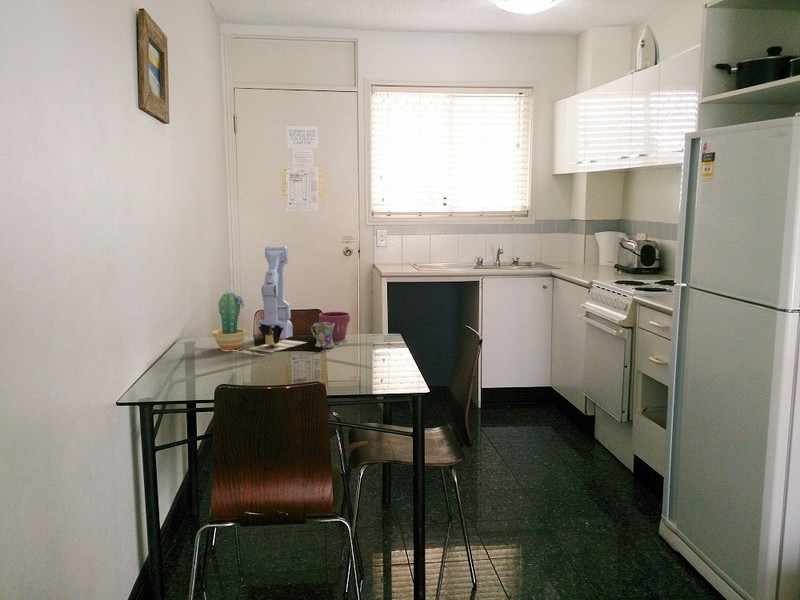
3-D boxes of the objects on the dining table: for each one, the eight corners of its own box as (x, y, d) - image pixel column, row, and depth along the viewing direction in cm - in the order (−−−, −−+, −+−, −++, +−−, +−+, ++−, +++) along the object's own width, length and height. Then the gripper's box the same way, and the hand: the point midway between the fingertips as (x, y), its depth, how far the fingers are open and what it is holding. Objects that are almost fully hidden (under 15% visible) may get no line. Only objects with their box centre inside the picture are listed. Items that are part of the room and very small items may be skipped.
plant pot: (356, 339, 318) (355, 312, 316) (338, 345, 306) (337, 317, 304) (332, 337, 325) (331, 310, 324) (313, 342, 313) (312, 314, 312)
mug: (339, 346, 302) (338, 323, 301) (326, 350, 294) (326, 326, 293) (318, 344, 308) (317, 321, 307) (305, 347, 300) (304, 324, 299)
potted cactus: (232, 354, 289) (230, 295, 285) (204, 351, 295) (201, 294, 292) (255, 347, 303) (253, 291, 299) (228, 344, 309) (225, 290, 306)
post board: (284, 342, 314) (283, 330, 313) (307, 344, 307) (307, 333, 306) (247, 351, 294) (246, 339, 293) (271, 354, 286) (271, 342, 286)
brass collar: (271, 342, 300) (271, 333, 299) (280, 343, 297) (279, 334, 297) (263, 344, 296) (263, 335, 295) (272, 345, 293) (271, 336, 293)
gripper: (251, 311, 295) (252, 342, 297) (277, 314, 287) (278, 345, 289) (263, 309, 301) (264, 339, 303) (288, 311, 293) (289, 342, 295)
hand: (271, 342), depth 296 cm, fingers closed on brass collar, 5 cm apart
